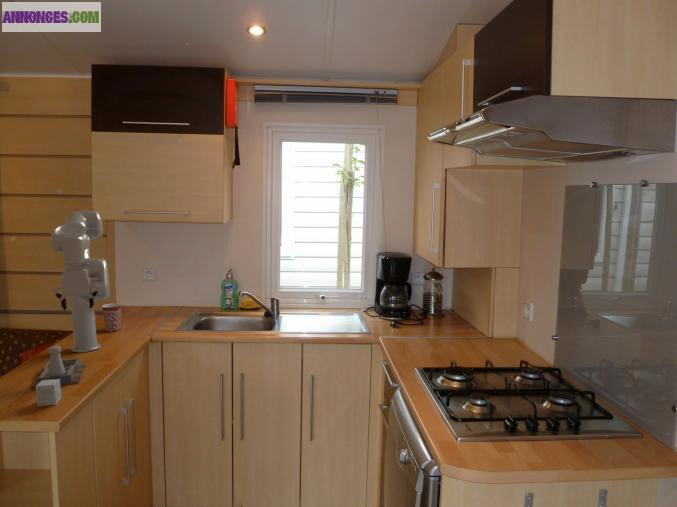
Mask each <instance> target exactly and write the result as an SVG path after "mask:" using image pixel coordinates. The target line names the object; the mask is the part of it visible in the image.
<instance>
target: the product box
mask: <svg viewBox="0 0 677 507" xmlns="http://www.w3.org/2000/svg"><path fill="white" fill-rule="evenodd" d="M61 386H62V385H60V379H55V380H42V381H41V382H40V383H39V384H38V385H37V386H36V388H35V395H36V405H37V407H44V406H46V407H47V406H56V405H57V404H58V403H59V402H60V400H62V389H61V388H62V387H61Z"/></svg>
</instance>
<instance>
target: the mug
mask: <svg viewBox="0 0 677 507" xmlns="http://www.w3.org/2000/svg"><path fill="white" fill-rule="evenodd" d="M121 306H122V303H119V302H118V303H116V302H115V303H113V302H112V303H106V304H103V305H102V306H101V307H102V313H103V314H102V315H103V320H104V328H105V332H107V333H115V332H119V331H121V327H122V326H121V323H122V322H121V319H122V318H121V317H122V316H121V313H122V312H121V311H122V310H121Z"/></svg>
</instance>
